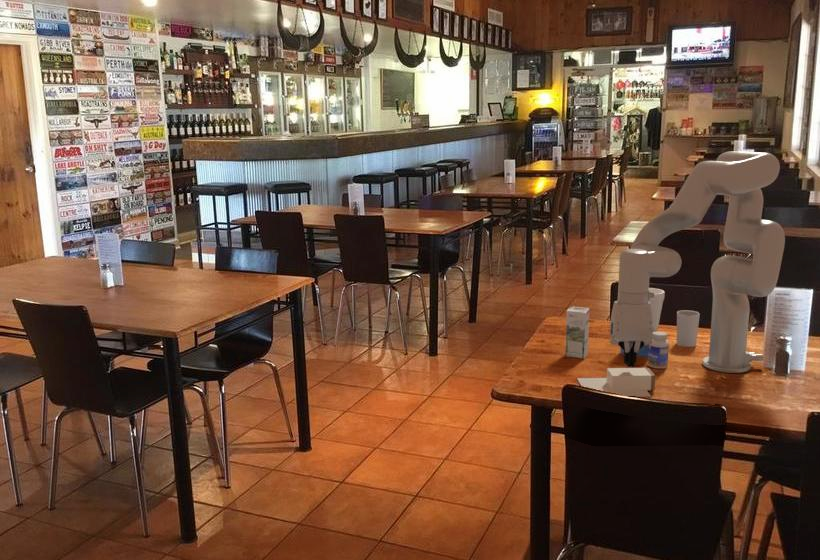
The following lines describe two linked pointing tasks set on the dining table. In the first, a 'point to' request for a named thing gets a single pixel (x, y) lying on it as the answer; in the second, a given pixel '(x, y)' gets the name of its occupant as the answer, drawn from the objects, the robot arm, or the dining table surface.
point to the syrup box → (577, 332)
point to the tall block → (630, 379)
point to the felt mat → (603, 386)
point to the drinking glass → (687, 328)
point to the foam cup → (656, 306)
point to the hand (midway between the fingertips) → (629, 365)
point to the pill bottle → (658, 350)
